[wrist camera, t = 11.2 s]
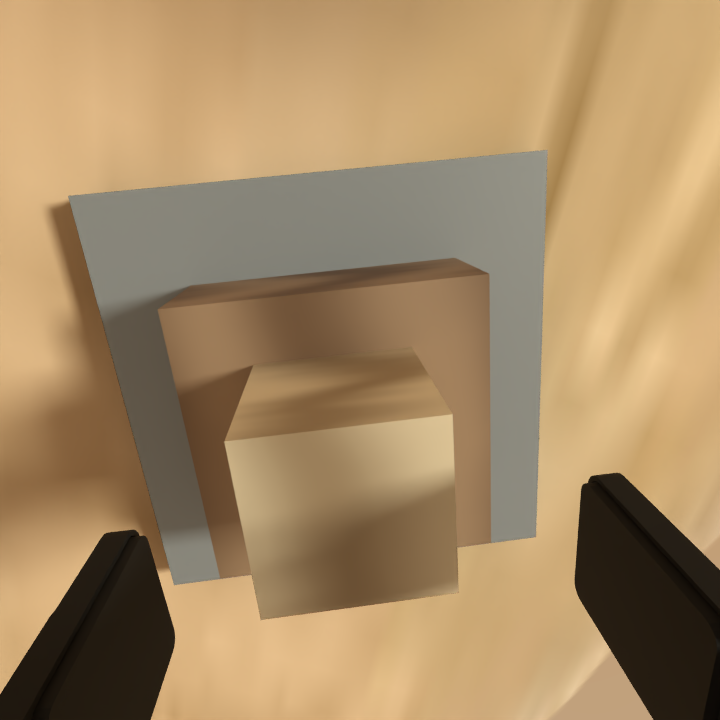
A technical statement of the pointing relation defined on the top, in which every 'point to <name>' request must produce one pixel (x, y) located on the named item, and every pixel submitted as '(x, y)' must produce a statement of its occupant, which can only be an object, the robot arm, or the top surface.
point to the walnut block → (324, 339)
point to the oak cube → (345, 482)
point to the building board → (308, 255)
